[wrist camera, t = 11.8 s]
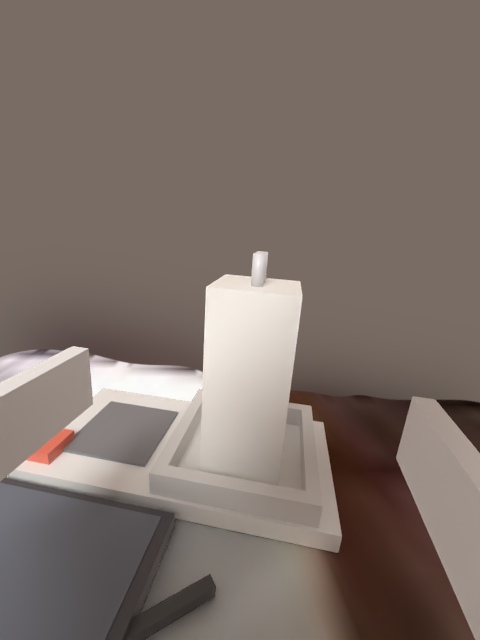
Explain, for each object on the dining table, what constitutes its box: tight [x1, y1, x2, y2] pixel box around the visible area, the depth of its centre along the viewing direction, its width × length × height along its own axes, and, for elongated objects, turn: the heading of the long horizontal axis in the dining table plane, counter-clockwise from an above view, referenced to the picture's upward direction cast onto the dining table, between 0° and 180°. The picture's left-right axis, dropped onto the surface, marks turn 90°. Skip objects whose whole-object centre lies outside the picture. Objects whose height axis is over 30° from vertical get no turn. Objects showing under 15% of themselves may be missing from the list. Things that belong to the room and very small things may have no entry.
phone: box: [0, 478, 175, 640], centre depth 14 cm, size 7×14×1 cm, turn 81°
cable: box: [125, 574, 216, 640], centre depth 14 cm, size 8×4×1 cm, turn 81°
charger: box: [200, 251, 303, 486], centre depth 19 cm, size 5×5×14 cm
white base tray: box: [9, 388, 342, 553], centre depth 22 cm, size 20×10×3 cm, turn 80°
